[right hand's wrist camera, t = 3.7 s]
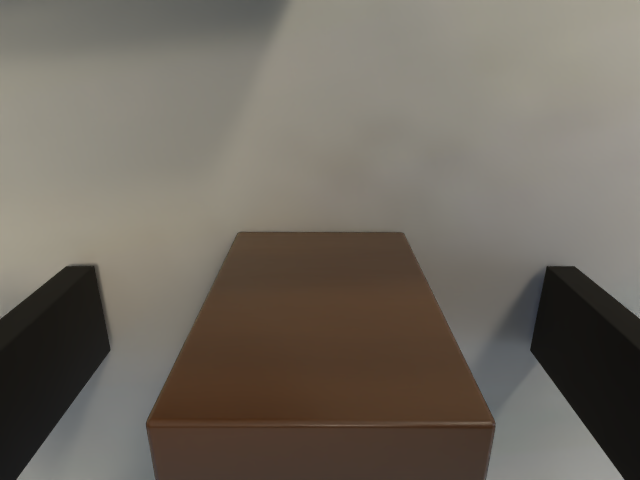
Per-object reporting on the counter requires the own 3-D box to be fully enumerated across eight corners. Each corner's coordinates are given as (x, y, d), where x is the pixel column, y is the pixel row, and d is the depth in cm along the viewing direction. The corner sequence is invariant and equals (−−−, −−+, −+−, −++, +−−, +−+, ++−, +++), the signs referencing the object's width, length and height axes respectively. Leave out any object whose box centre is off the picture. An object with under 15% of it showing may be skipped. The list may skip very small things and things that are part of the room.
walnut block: (237, 231, 12) (142, 423, 6) (404, 231, 12) (499, 424, 6) (246, 369, 14) (181, 640, 7) (394, 369, 14) (459, 641, 7)
